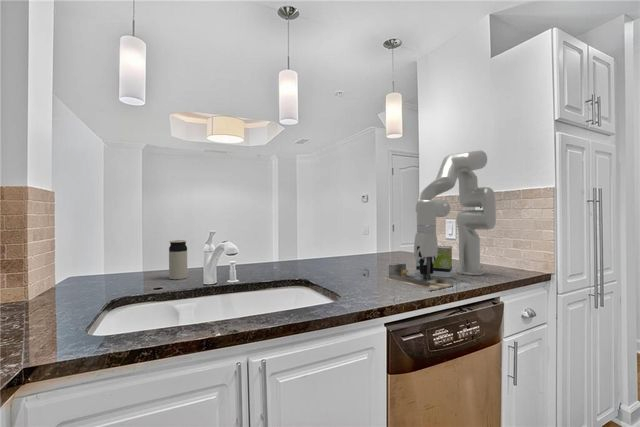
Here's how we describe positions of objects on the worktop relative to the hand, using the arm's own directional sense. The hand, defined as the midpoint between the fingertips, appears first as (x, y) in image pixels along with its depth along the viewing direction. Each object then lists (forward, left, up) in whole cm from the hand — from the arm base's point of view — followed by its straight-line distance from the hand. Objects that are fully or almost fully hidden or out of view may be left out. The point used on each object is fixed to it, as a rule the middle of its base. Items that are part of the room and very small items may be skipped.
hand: (426, 273), depth 132 cm
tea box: (-19, -11, -6) cm, 22 cm away
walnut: (0, -12, -4) cm, 12 cm away
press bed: (0, -6, -5) cm, 8 cm away
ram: (0, -3, -4) cm, 5 cm away
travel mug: (+82, -80, -5) cm, 114 cm away
